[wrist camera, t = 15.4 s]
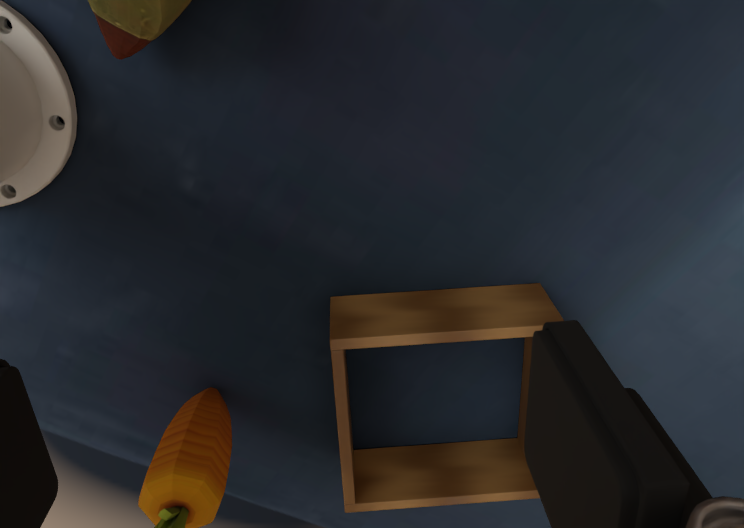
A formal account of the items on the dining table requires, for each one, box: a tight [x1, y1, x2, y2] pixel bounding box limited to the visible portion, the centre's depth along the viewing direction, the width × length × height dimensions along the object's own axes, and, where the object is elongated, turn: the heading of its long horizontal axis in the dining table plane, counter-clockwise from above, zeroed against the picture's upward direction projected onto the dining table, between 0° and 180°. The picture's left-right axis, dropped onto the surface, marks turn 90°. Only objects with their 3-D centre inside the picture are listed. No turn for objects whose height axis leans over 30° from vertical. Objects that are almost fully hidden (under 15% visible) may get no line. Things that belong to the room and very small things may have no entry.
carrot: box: [139, 387, 232, 528], centre depth 39 cm, size 5×5×15 cm
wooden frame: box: [330, 283, 564, 513], centre depth 43 cm, size 15×15×6 cm
